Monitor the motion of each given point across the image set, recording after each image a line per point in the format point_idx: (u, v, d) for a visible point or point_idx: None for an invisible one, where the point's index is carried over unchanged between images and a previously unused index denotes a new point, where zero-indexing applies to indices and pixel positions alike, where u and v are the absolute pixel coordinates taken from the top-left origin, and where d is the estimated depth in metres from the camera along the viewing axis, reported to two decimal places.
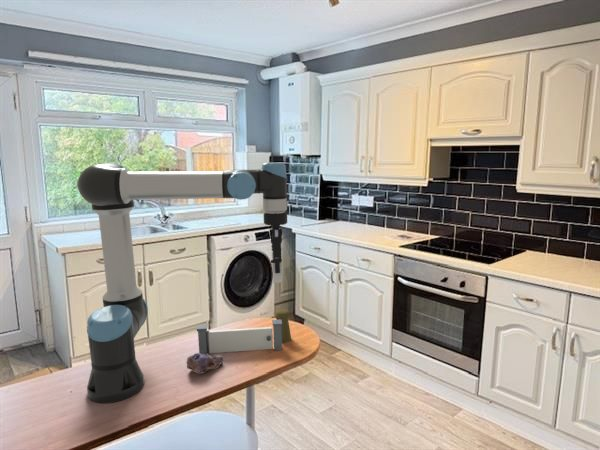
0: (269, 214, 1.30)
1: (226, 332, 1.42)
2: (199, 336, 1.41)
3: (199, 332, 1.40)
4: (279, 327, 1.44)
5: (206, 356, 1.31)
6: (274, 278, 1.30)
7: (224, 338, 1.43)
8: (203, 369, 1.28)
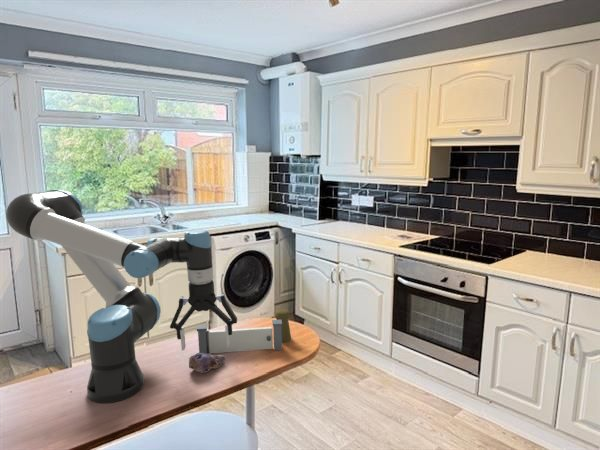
0: None
1: None
2: (199, 336, 1.41)
3: (199, 332, 1.40)
4: (279, 327, 1.44)
5: (209, 355, 1.32)
6: None
7: (224, 338, 1.43)
8: (205, 368, 1.29)
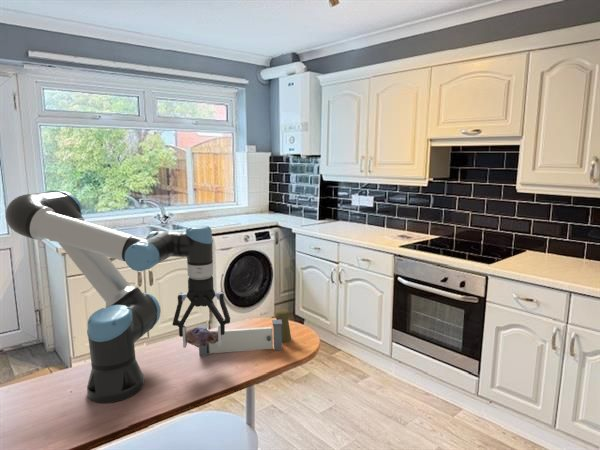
0: None
1: (226, 332, 1.42)
2: None
3: None
4: (279, 327, 1.44)
5: (206, 330, 1.31)
6: None
7: (224, 338, 1.43)
8: (203, 343, 1.28)
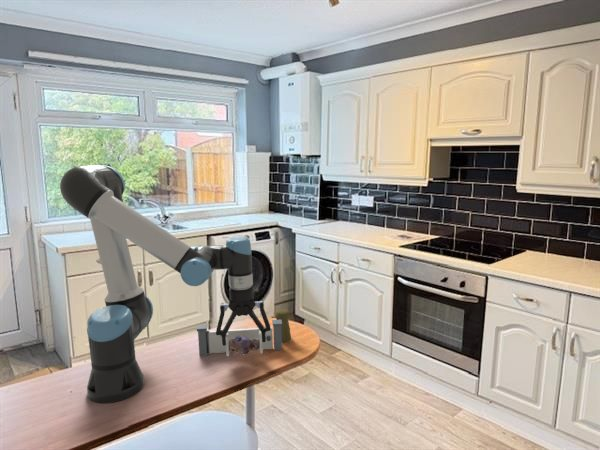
0: None
1: None
2: (199, 336, 1.41)
3: (199, 332, 1.40)
4: (279, 327, 1.44)
5: (248, 338, 1.35)
6: None
7: None
8: (246, 350, 1.32)
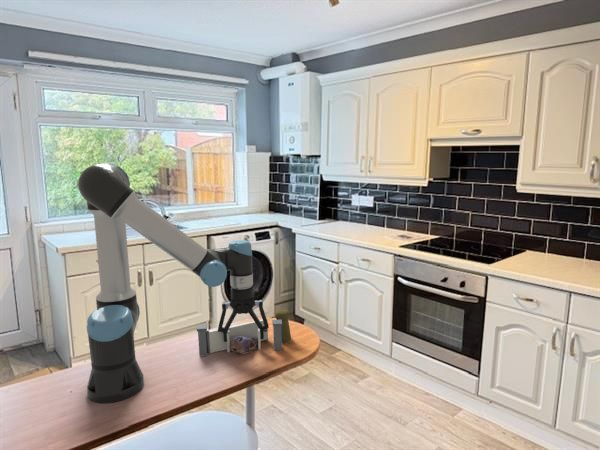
0: None
1: None
2: (199, 336, 1.41)
3: (199, 332, 1.40)
4: (279, 327, 1.44)
5: (248, 338, 1.44)
6: None
7: None
8: (247, 349, 1.41)
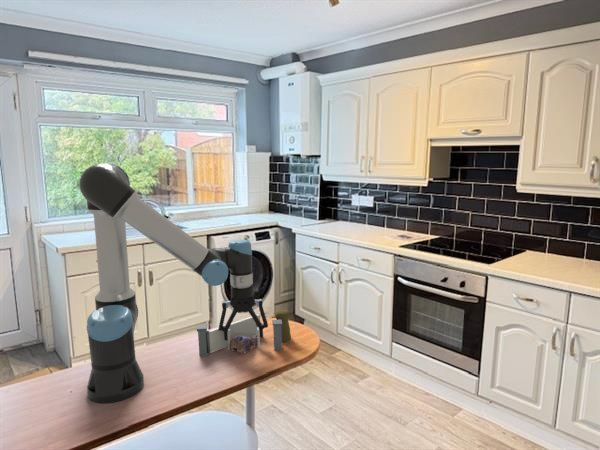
0: None
1: None
2: (199, 336, 1.41)
3: (199, 332, 1.40)
4: (279, 327, 1.44)
5: (247, 337, 1.44)
6: None
7: (222, 334, 1.46)
8: (247, 348, 1.41)
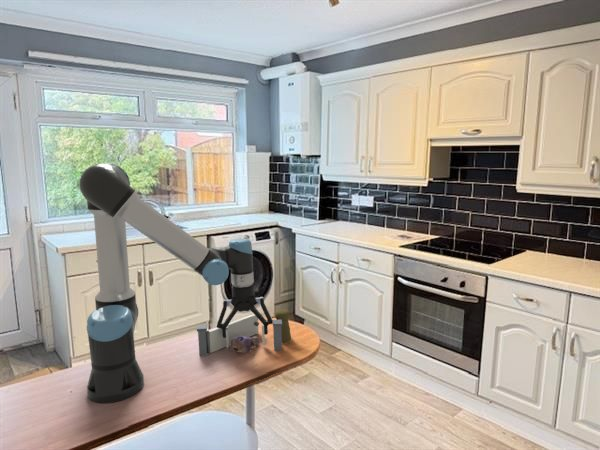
0: None
1: None
2: (199, 336, 1.41)
3: (199, 332, 1.40)
4: (279, 327, 1.44)
5: (248, 337, 1.44)
6: None
7: (222, 334, 1.46)
8: (248, 348, 1.42)
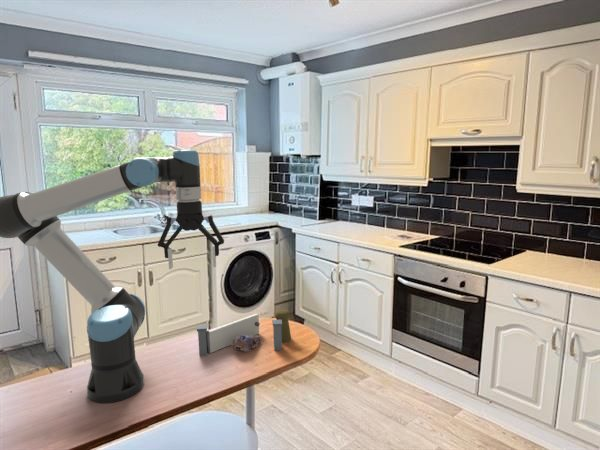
0: None
1: (224, 327, 1.46)
2: (199, 336, 1.41)
3: (199, 332, 1.40)
4: (279, 327, 1.44)
5: (250, 336, 1.45)
6: None
7: (222, 334, 1.46)
8: (250, 347, 1.42)
